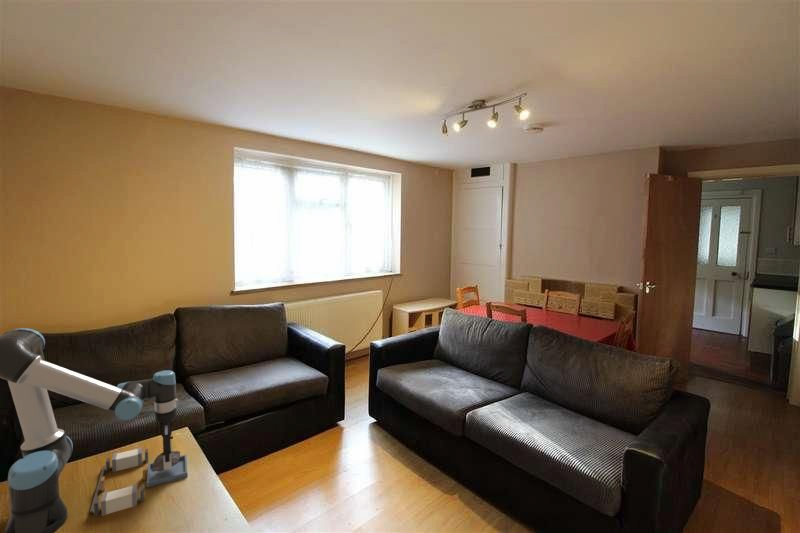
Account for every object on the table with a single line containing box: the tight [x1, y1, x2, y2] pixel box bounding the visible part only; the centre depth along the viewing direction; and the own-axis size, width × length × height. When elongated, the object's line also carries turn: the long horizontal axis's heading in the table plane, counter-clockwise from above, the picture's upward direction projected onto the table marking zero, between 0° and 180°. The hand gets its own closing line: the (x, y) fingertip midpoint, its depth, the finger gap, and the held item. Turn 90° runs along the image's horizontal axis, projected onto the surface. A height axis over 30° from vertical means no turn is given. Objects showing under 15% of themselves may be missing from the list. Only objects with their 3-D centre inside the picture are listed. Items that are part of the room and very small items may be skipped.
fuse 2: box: [100, 483, 139, 517], centre depth 136 cm, size 10×5×5 cm, turn 121°
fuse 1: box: [111, 446, 144, 473], centre depth 159 cm, size 10×5×5 cm, turn 121°
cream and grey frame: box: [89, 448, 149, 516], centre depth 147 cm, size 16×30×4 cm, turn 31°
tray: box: [146, 454, 189, 489], centre depth 155 cm, size 14×14×2 cm
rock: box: [152, 450, 181, 472], centre depth 154 cm, size 9×11×4 cm
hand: (167, 461), depth 154 cm, fingers closed on rock, 9 cm apart
